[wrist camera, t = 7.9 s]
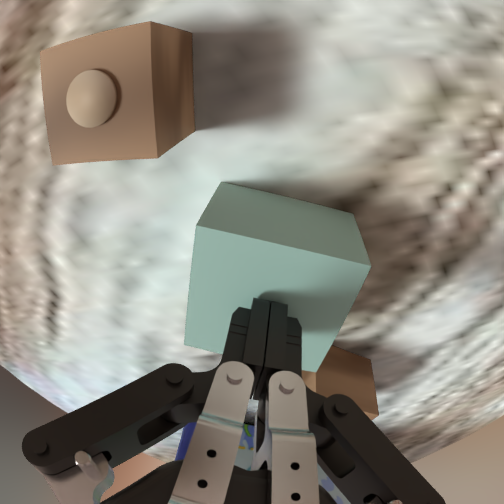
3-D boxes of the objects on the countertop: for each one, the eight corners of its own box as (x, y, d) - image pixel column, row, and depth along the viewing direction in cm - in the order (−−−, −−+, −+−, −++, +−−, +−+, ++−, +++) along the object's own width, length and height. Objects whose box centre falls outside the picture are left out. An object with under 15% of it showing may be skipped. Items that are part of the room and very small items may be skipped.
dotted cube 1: (314, 337, 22) (316, 401, 17) (370, 358, 22) (379, 417, 18) (279, 375, 24) (275, 432, 20) (332, 392, 25) (334, 446, 20)
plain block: (221, 180, 16) (196, 225, 12) (352, 212, 17) (371, 266, 12) (205, 285, 20) (184, 344, 16) (313, 309, 20) (315, 372, 16)
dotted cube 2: (101, 48, 13) (37, 51, 9) (192, 33, 12) (147, 20, 8) (108, 136, 16) (50, 167, 11) (195, 130, 15) (155, 159, 11)
